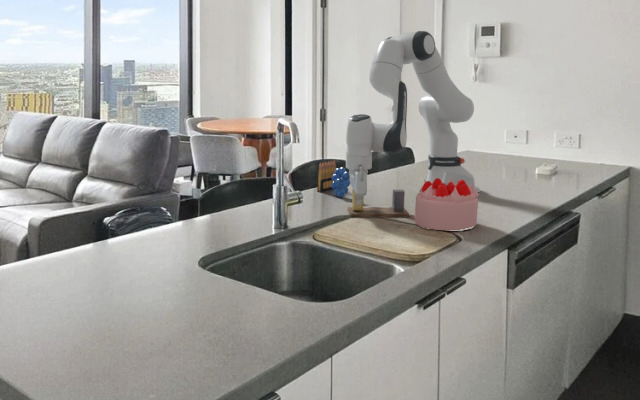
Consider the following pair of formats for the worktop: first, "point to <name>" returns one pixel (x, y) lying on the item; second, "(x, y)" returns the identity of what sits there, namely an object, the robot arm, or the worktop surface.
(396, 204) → the grey rectangular block
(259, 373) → the worktop surface
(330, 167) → the ammunition clip
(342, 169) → the grapes
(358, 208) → the wooden block
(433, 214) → the cake
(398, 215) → the brown flat rectangular board
